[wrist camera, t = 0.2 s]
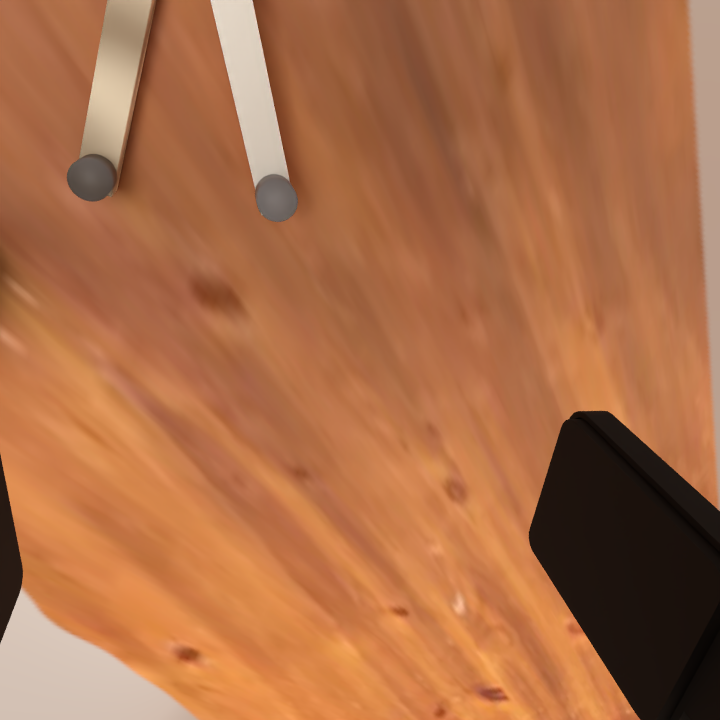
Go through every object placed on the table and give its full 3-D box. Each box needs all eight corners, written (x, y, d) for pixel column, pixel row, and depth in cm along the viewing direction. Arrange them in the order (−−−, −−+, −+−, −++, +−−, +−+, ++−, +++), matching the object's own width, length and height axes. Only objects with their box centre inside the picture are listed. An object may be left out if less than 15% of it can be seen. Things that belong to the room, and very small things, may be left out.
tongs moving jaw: (165, -183, 26) (156, -220, 23) (212, -189, 27) (211, -226, 23) (258, 209, 35) (262, 225, 32) (293, 201, 35) (301, 217, 32)
